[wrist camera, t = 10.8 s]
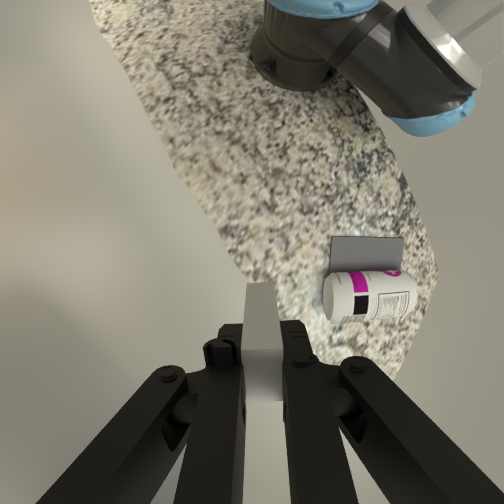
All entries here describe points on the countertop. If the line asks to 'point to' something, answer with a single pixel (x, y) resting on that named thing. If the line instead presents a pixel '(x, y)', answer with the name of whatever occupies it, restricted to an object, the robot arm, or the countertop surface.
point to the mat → (365, 254)
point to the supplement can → (368, 295)
